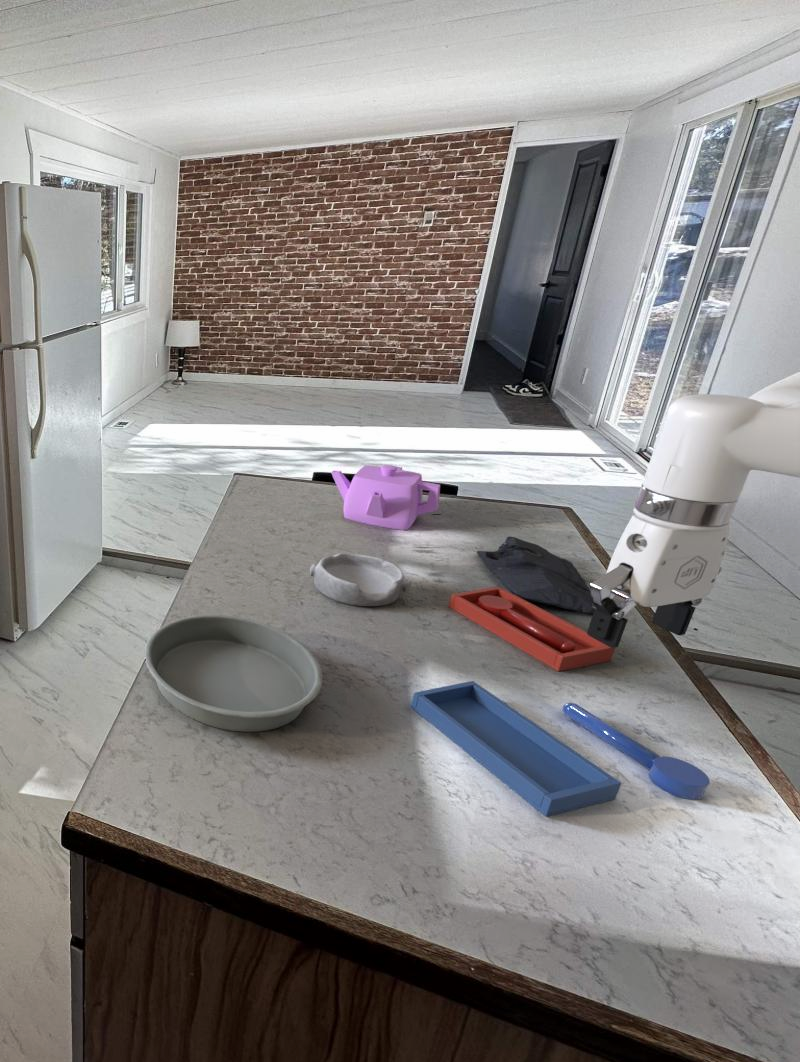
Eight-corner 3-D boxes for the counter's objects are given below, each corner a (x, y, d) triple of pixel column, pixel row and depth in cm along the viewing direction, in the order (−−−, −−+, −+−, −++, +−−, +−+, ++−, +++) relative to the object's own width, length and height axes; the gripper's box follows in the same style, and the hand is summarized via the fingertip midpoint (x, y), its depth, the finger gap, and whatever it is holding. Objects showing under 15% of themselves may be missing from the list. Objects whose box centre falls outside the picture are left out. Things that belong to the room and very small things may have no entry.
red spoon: (583, 653, 97) (587, 642, 96) (558, 658, 96) (562, 647, 95) (492, 603, 111) (494, 593, 110) (469, 607, 110) (472, 597, 109)
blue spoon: (548, 714, 86) (552, 702, 85) (576, 708, 87) (580, 696, 86) (682, 803, 72) (689, 790, 71) (714, 795, 73) (721, 781, 72)
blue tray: (410, 707, 89) (413, 692, 88) (469, 695, 90) (472, 680, 89) (545, 817, 71) (551, 800, 70) (615, 799, 73) (622, 782, 72)
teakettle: (441, 528, 140) (452, 475, 136) (366, 534, 139) (376, 481, 135) (390, 500, 156) (399, 452, 151) (323, 506, 155) (330, 457, 150)
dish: (417, 600, 114) (422, 575, 112) (357, 618, 110) (362, 592, 108) (350, 566, 126) (354, 543, 125) (294, 581, 122) (297, 558, 120)
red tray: (448, 606, 111) (451, 594, 110) (494, 598, 113) (498, 586, 112) (558, 671, 94) (562, 657, 93) (611, 660, 96) (616, 646, 95)
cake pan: (116, 654, 104) (117, 631, 102) (247, 625, 109) (249, 602, 108) (201, 761, 82) (203, 733, 80) (359, 717, 87) (364, 690, 86)
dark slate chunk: (497, 604, 111) (503, 580, 109) (473, 551, 129) (478, 530, 128) (611, 621, 105) (619, 596, 103) (569, 563, 123) (576, 541, 121)
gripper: (657, 528, 67) (608, 664, 73) (787, 509, 70) (729, 641, 76) (584, 503, 74) (545, 629, 80) (704, 486, 76) (657, 609, 83)
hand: (634, 635), depth 78 cm, fingers open, 9 cm apart
